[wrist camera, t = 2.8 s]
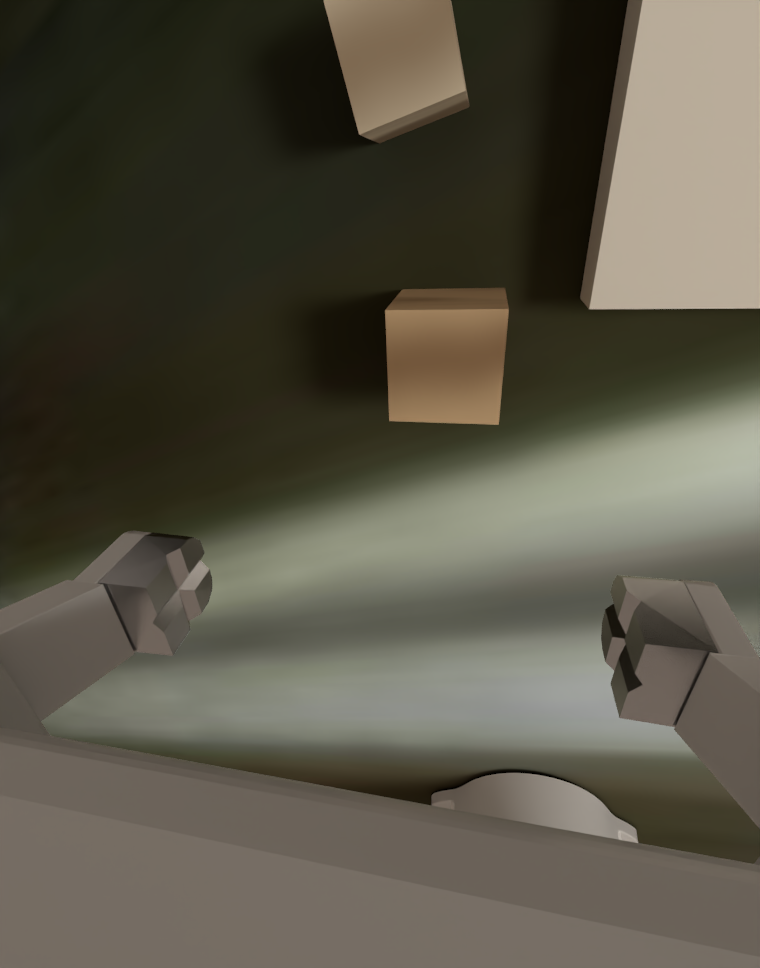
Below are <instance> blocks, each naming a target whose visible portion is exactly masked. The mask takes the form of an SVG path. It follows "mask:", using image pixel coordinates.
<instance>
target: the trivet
mask: <svg viewBox="0 0 760 968" xmlns="http://www.w3.org/2000/svg"><path fill="white" fill-rule="evenodd" d="M580 299H581V300H582V301H583V302H584V304H585V305H586V306H587V307H588V308H589V309H736V308H760V0H628V4H627V10H626V16H625V23H624V29H623V35H622V41H621V47H620V53H619V60H618V66H617V72H616V78H615V84H614V91H613V97H612V103H611V109H610V115H609V122H608V128H607V134H606V140H605V146H604V153H603V159H602V165H601V171H600V177H599V184H598V190H597V196H596V202H595V208H594V215H593V221H592V227H591V233H590V239H589V245H588V252H587V258H586V264H585V270H584V276H583V283H582V289H581V295H580Z"/></svg>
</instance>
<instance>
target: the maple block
mask: <svg viewBox="0 0 760 968" xmlns="http://www.w3.org/2000/svg"><path fill="white" fill-rule="evenodd" d="M324 4H325V8H326V12H327V15H328V19H329V23H330V27H331V31H332V34H333V38H334V42H335V46H336V49H337V53H338V57H339V61H340V64H341V68H342V72H343V76H344V79H345V83H346V87H347V91H348V95H349V98H350V102H351V106H352V110H353V113H354V117H355V121H356V125H357V128H358V132H359V135H361V136H363V137H366V138H368V139H370V140H373V141H375V142H377V143H381V142H384V141H386V140H389V139H391V138H394V137H396V136H399V135H401V134H404V133H406V132H409V131H411V130H414V129H416V128H419V127H421V126H424V125H426V124H429V123H431V122H434V121H436V120H439V119H441V118H443V117H446V116H448V115H451V114H453V113H456V112H458V111H461V110H463V109H466V108H468V107H469V101H468V96H467V90H466V84H465V78H464V73H463V67H462V61H461V55H460V50H459V44H458V38H457V32H456V27H455V21H454V15H453V9H452V4H451V0H324Z"/></svg>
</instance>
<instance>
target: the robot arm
mask: <svg viewBox="0 0 760 968" xmlns="http://www.w3.org/2000/svg"><path fill="white" fill-rule="evenodd" d="M203 555H204V550H203V547H202V544H201V541H200V540H198V539H196V538H194V537H187V536H178V535H169V534H160V533H148V532H139V531H129V532H126V533H123V534H122V535H121V536H120V537H119V538H118V539H117V540H116V541H115V542H114V543H113V544H112V545H111V546H109V547H108V548H107V549H106V550H105V551H104V552H103V553H102V554H101V555H100V556H99V557H98V558H97V559H96V560H95V561H94V562H92V563H91V564H90V565H89V566H88V567H87V568H86V569H85V570H84V571H83V572H82V573H81V574H80V575H79V576H78V577H77V578H75V579H74V580H73V581H69V580H66V581H63V582H61V583H59V584H57V585H54V586H52V587H50V588H48V589H45V590H43V591H41V592H39V593H36V594H34V595H32V596H30V597H27V598H25V599H23V600H21V601H19V602H16V603H14V604H12V605H10V606H7V607H5V608H3V609H1V610H0V968H760V857H759V858H758V860H757V861H756V862H755V863H754V864H750V863H745V862H739V861H734V860H728V859H723V858H717V857H712V856H706V855H701V854H695V853H690V852H684V851H679V850H673V849H668V848H662V847H657V846H651V845H646V844H640V843H638V839H637V831H636V829H635V828H634V827H632V826H631V825H629V824H628V823H626V822H624V821H622V820H621V819H619V818H617V817H615V816H614V815H613V814H612V813H611V812H610V811H609V810H608V809H607V807H606V806H605V805H604V804H603V803H602V802H601V801H600V800H599V799H598V798H596V797H595V796H594V795H592V794H591V793H589V792H588V791H586V790H584V789H582V788H580V787H578V786H576V785H573V784H571V783H568V782H565V781H562V780H559V779H556V778H552V777H547V776H542V775H536V774H527V773H501V774H493V775H488V776H484V777H480V778H477V779H474V780H472V781H470V782H468V783H466V784H465V785H463V786H461V787H459V788H456V789H451V790H445V791H440V792H436V793H434V794H432V797H431V805H432V806H431V805H426V804H420V803H415V802H409V801H404V800H398V799H393V798H388V797H382V796H377V795H371V794H366V793H360V792H355V791H349V790H344V789H338V788H333V787H327V786H322V785H317V784H311V783H306V782H300V781H295V780H289V779H284V778H278V777H273V776H267V775H262V774H256V773H251V772H245V771H240V770H234V769H229V768H223V767H218V766H213V765H207V764H202V763H196V762H191V761H185V760H180V759H174V758H169V757H163V756H158V755H152V754H147V753H141V752H136V751H130V750H125V749H119V748H114V747H108V746H103V745H97V744H92V743H86V742H81V741H75V740H70V739H64V738H59V737H53V736H50V734H49V733H48V731H47V730H46V728H45V727H44V725H43V724H42V723H41V721H42V720H43V719H45V718H46V717H47V716H49V715H50V714H52V713H53V712H54V711H56V710H57V709H58V708H60V707H61V706H63V705H64V704H65V703H67V702H68V701H70V700H71V699H72V698H74V697H75V696H77V695H78V694H79V693H81V692H82V691H83V690H85V689H86V688H88V687H89V686H90V685H92V684H93V683H95V682H96V681H97V680H99V679H100V678H102V677H103V676H104V675H106V674H107V673H108V672H110V671H111V670H113V669H114V668H115V667H117V666H118V665H120V664H121V663H122V662H124V661H125V660H127V659H128V658H129V657H131V656H132V655H134V651H135V652H144V653H153V654H162V655H172V656H173V655H174V654H175V652H176V651H177V649H178V648H179V646H180V645H181V643H182V642H183V640H184V639H185V637H186V636H187V634H188V633H189V631H190V630H191V629H190V622H189V621H190V620H191V619H193V618H195V617H196V616H198V615H200V614H201V613H202V612H203V610H204V609H205V607H206V606H207V604H208V602H209V599H210V595H211V592H212V577H211V573H210V569H209V568H208V567H207V566H205V565H204V564H203V563H202V562H201V561H200V560H201V558H202V557H203ZM610 593H611V596H612V599H613V603H614V604H612V605H611V606H610V607H608V608H607V609H605V613H604V617H603V621H602V634H601V640H602V649H603V653H604V658H605V662H606V663H607V664H608V665H609V666H610V667H611V668H612V669H613V670H614V674H613V677H612V681H611V686H612V690H613V694H614V698H615V702H616V706H617V710H618V714H619V718H624V719H630V720H636V721H642V722H648V723H654V724H660V725H666V726H672V727H675V729H674V730H675V731H676V732H677V733H678V734H679V735H680V737H681V738H682V739H683V740H684V741H685V742H686V744H687V745H688V746H689V747H690V748H691V749H692V751H693V752H694V753H695V754H696V755H697V756H698V758H699V759H700V760H701V761H702V762H703V763H704V764H705V766H706V767H707V768H708V769H709V770H710V771H711V773H712V774H713V775H714V776H715V777H716V778H717V780H718V781H719V782H720V783H721V784H722V785H723V787H724V788H725V789H726V790H727V791H728V792H729V794H730V795H731V796H732V797H733V798H734V799H735V800H736V802H737V803H738V804H739V805H740V806H741V807H742V809H743V810H744V811H745V812H746V813H747V814H748V816H749V817H750V818H751V819H752V820H753V821H754V823H755V824H756V825H757V826H758V827H759V828H760V658H759V656H758V655H757V653H756V651H755V650H754V648H753V646H752V644H751V643H750V641H749V639H748V638H747V636H746V634H745V633H744V631H743V629H742V627H741V626H740V624H739V622H738V621H737V619H736V617H735V615H734V614H733V612H732V610H731V609H730V607H729V605H728V604H727V602H726V600H725V598H724V597H723V595H722V593H721V592H720V590H719V588H718V586H717V585H715V584H714V583H712V582H707V581H693V580H671V579H659V578H647V577H635V576H623V575H617V576H616V578H615V579H614V581H613V584H612V587H611V591H610Z"/></svg>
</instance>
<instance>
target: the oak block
mask: <svg viewBox="0 0 760 968" xmlns="http://www.w3.org/2000/svg"><path fill="white" fill-rule="evenodd" d="M508 312H509V308H508V302H507V297H506V291H505V288H455V289H402V290H401V292H400V293H399V294H398V295H397V296H396V298H395V299H394V300H393V301H392V302H391V304H390V305H389V306H388V307H387V308H386V310H385V320H386V346H387V372H388V398H389V421H405V422H434V423H463V424H493V425H499V414H500V403H501V392H502V380H503V369H504V358H505V346H506V335H507V324H508Z"/></svg>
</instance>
